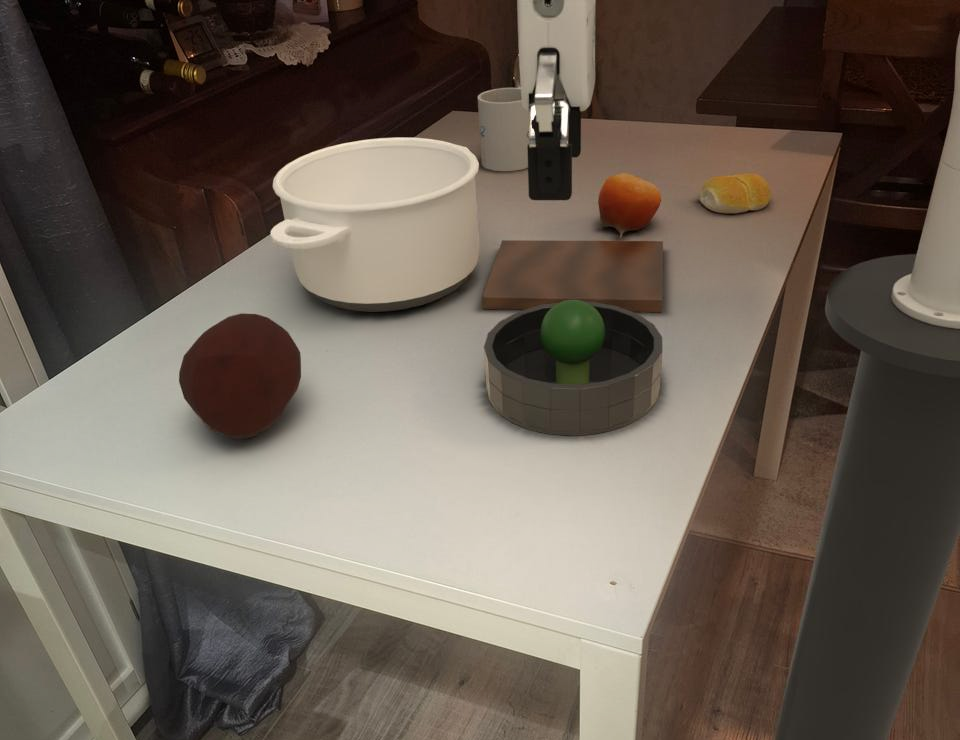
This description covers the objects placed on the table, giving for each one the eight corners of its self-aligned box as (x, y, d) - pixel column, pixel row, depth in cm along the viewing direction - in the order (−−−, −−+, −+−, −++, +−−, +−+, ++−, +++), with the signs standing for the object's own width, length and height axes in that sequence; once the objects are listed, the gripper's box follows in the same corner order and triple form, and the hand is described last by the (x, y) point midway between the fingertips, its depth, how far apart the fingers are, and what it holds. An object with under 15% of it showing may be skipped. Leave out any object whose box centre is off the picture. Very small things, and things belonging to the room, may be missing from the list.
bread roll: (780, 207, 119) (785, 178, 117) (720, 219, 117) (724, 189, 115) (747, 188, 125) (750, 159, 123) (690, 199, 124) (692, 170, 121)
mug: (525, 173, 136) (523, 104, 130) (473, 169, 139) (469, 102, 133) (550, 147, 145) (549, 82, 139) (501, 144, 148) (498, 80, 142)
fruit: (574, 222, 116) (596, 160, 114) (608, 236, 122) (630, 177, 120) (621, 237, 111) (645, 173, 109) (654, 251, 117) (678, 191, 115)
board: (662, 252, 110) (663, 240, 109) (661, 312, 98) (662, 300, 97) (502, 251, 114) (501, 240, 113) (482, 309, 101) (481, 297, 100)
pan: (659, 347, 92) (662, 302, 89) (658, 439, 79) (662, 391, 76) (500, 343, 95) (498, 300, 92) (474, 432, 82) (471, 385, 79)
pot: (391, 364, 93) (373, 238, 84) (226, 321, 103) (195, 205, 94) (538, 244, 115) (535, 135, 106) (390, 219, 125) (377, 117, 116)
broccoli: (605, 367, 88) (607, 288, 83) (602, 400, 84) (603, 319, 79) (545, 366, 89) (543, 288, 84) (538, 398, 85) (536, 317, 80)
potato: (317, 381, 91) (298, 287, 85) (303, 457, 80) (280, 356, 74) (209, 389, 91) (182, 296, 85) (180, 466, 80) (147, 366, 74)
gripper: (603, -60, 53) (597, 218, 64) (614, -92, 67) (608, 142, 77) (479, -54, 54) (494, 218, 65) (515, -87, 68) (522, 143, 78)
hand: (556, 176), depth 71 cm, fingers open, 9 cm apart
